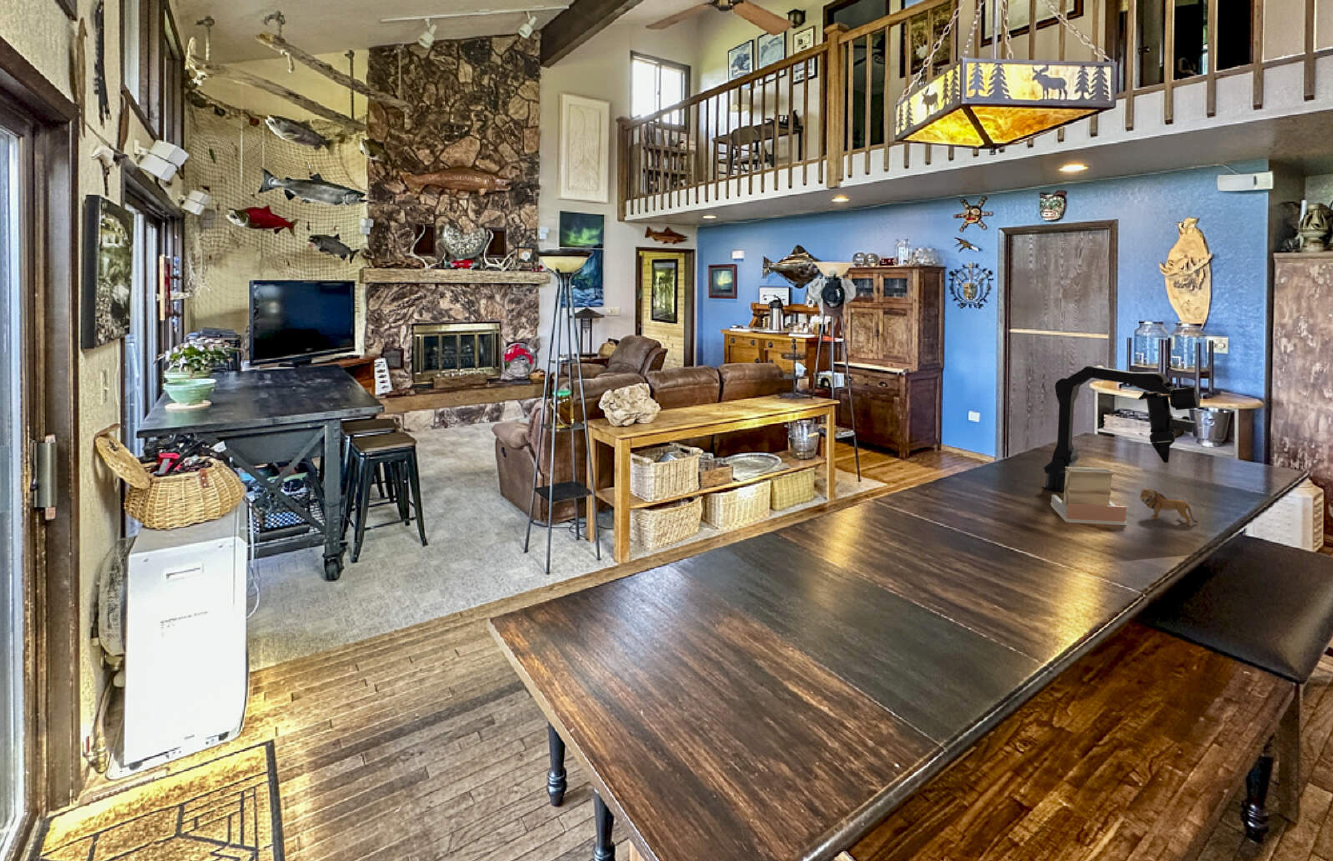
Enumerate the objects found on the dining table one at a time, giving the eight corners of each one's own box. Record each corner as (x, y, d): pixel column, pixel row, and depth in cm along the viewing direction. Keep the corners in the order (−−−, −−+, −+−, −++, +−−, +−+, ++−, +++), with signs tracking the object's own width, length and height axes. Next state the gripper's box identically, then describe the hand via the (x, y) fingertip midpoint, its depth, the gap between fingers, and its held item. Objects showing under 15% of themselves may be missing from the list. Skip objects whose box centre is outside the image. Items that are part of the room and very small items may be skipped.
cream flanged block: (1062, 506, 222) (1065, 466, 219) (1102, 507, 219) (1105, 467, 216) (1067, 511, 216) (1071, 471, 213) (1109, 513, 212) (1113, 472, 210)
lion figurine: (1137, 517, 211) (1139, 489, 210) (1139, 513, 215) (1141, 485, 214) (1197, 526, 202) (1200, 496, 201) (1198, 521, 206) (1201, 492, 204)
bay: (1050, 504, 227) (1051, 488, 226) (1105, 507, 223) (1106, 490, 222) (1066, 522, 209) (1067, 504, 208) (1126, 525, 205) (1128, 507, 204)
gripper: (1191, 411, 206) (1198, 462, 207) (1190, 405, 221) (1197, 453, 222) (1146, 416, 213) (1153, 465, 214) (1148, 410, 228) (1155, 456, 228)
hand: (1166, 460), depth 219 cm, fingers open, 9 cm apart
